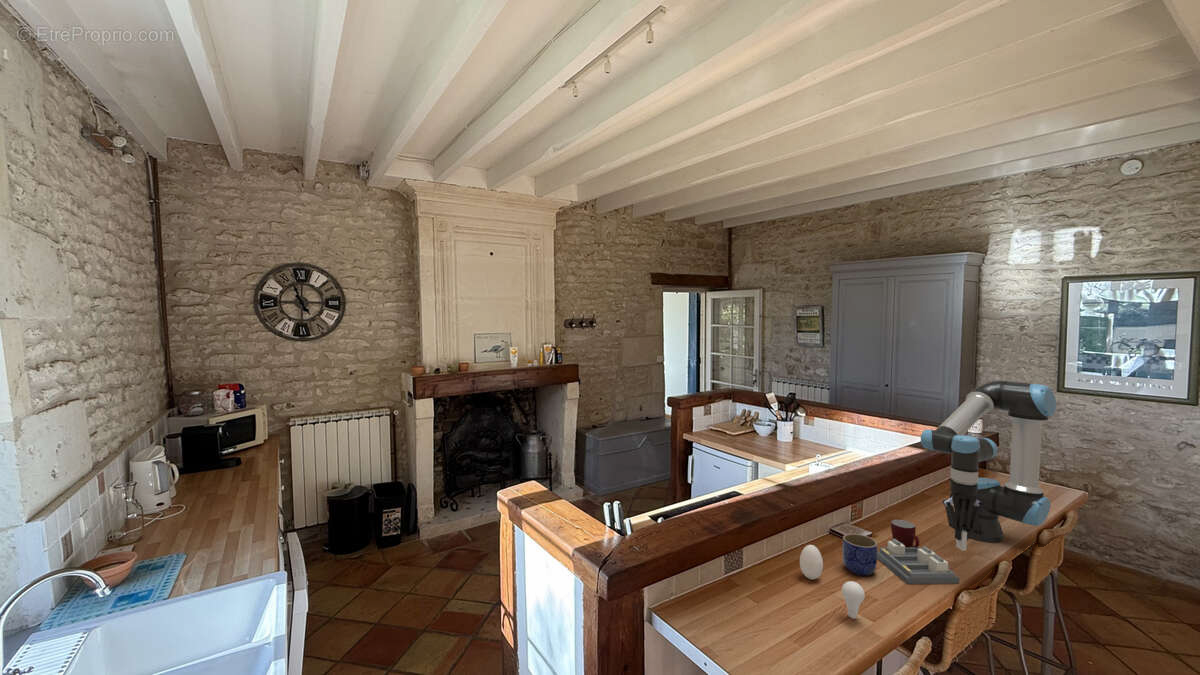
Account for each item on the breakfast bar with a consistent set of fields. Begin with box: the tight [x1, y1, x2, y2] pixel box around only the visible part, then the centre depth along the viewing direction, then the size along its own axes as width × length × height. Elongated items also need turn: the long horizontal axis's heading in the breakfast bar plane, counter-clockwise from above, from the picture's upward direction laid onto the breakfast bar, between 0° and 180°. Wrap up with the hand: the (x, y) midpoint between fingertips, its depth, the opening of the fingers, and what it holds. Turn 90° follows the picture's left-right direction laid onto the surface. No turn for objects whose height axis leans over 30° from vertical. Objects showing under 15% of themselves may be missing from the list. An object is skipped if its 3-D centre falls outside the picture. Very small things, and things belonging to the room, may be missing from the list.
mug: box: [890, 519, 920, 547], centre depth 188 cm, size 11×8×10 cm
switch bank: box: [877, 546, 960, 585], centre depth 174 cm, size 18×18×4 cm
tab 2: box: [917, 545, 937, 563], centre depth 174 cm, size 4×4×6 cm
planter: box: [842, 533, 878, 576], centre depth 173 cm, size 11×11×11 cm
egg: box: [799, 544, 824, 580], centre depth 168 cm, size 7×7×12 cm
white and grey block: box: [928, 554, 949, 572], centre depth 168 cm, size 4×4×6 cm
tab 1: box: [887, 538, 905, 555], centre depth 180 cm, size 4×4×6 cm
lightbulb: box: [841, 580, 866, 620], centre depth 146 cm, size 6×6×11 cm
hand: (961, 548), depth 168 cm, fingers closed
